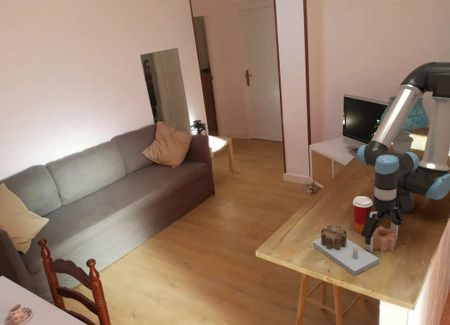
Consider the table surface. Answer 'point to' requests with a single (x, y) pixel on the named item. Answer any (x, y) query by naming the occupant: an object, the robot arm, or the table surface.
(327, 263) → the table surface
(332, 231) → the gear
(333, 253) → the gear board
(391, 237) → the gear
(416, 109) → the table lamp
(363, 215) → the paper cup
